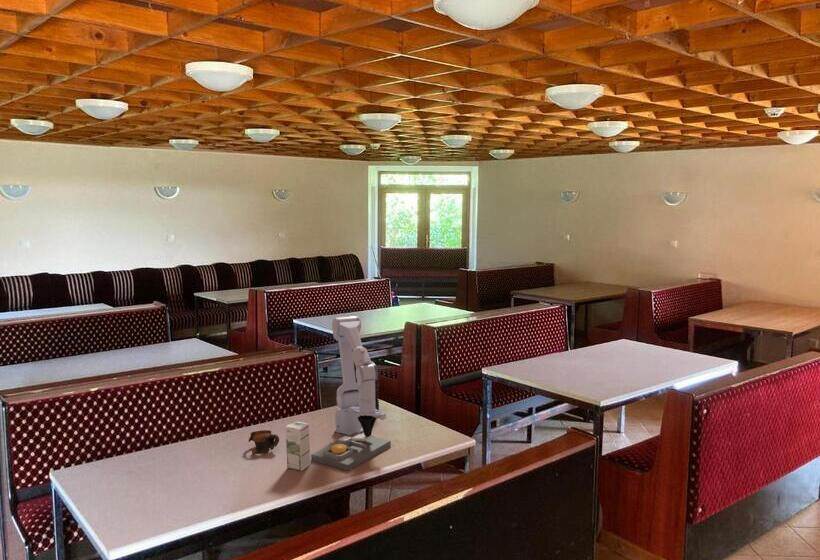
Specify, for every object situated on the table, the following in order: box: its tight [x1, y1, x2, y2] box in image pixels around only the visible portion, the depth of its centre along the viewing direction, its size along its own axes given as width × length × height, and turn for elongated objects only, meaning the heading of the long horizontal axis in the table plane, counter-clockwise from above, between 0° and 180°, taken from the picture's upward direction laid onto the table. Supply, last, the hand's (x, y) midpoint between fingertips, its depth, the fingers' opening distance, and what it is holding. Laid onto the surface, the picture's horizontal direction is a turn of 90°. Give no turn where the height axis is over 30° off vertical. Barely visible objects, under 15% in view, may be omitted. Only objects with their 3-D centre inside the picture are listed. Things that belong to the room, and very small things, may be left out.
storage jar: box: [354, 376, 380, 411], centre depth 249 cm, size 10×10×15 cm
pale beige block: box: [337, 435, 352, 447], centre depth 212 cm, size 3×4×2 cm
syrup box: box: [285, 421, 311, 472], centre depth 199 cm, size 6×6×14 cm
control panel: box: [310, 432, 392, 471], centre depth 210 cm, size 16×24×3 cm, turn 147°
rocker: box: [352, 433, 374, 441], centre depth 215 cm, size 6×4×1 cm
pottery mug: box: [248, 429, 280, 456], centre depth 214 cm, size 12×10×8 cm
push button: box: [331, 444, 346, 455], centre depth 204 cm, size 5×5×2 cm
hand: (367, 435), depth 213 cm, fingers closed
